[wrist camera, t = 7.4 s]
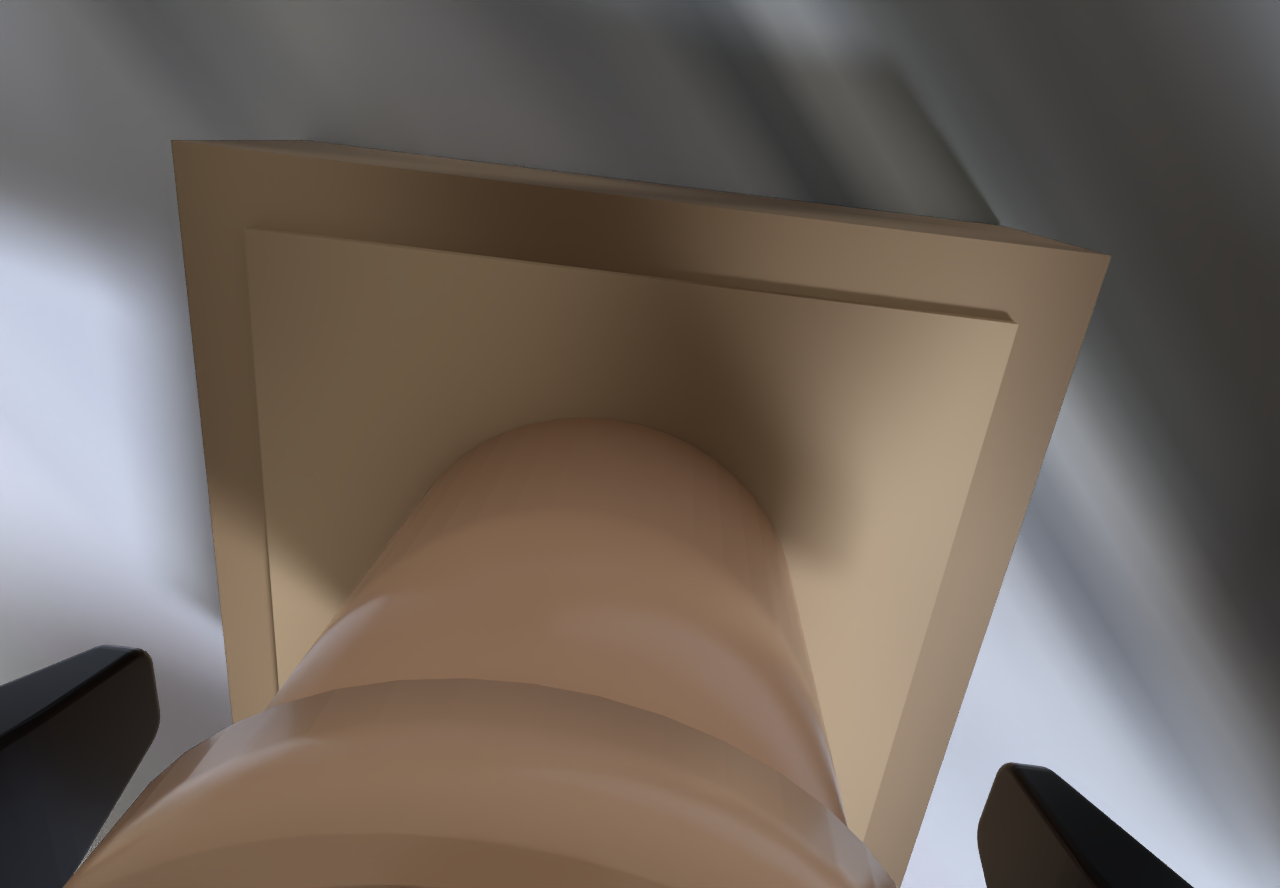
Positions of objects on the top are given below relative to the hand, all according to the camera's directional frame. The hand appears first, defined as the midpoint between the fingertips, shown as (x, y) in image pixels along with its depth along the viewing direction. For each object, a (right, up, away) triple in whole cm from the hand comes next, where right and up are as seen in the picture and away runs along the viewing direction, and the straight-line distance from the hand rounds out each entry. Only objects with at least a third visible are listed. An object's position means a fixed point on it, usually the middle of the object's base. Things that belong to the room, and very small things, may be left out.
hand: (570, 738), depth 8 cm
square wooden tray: (0, +2, +5) cm, 6 cm away
